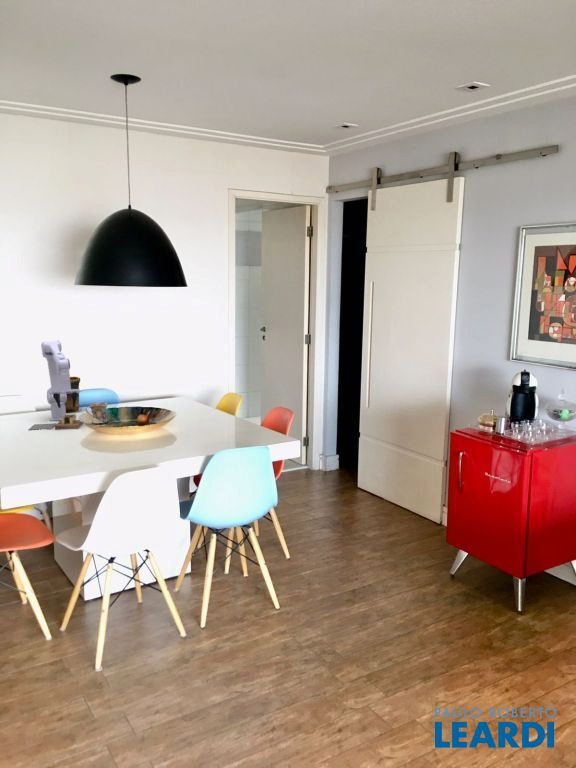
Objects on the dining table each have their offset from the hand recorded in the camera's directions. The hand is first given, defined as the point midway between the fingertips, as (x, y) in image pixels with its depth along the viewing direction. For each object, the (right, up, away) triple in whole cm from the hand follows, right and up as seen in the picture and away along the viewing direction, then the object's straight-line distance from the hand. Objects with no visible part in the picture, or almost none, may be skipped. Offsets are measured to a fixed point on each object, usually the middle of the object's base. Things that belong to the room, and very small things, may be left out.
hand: (66, 407), depth 355 cm
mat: (-14, -11, +2) cm, 18 cm away
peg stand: (0, -10, +3) cm, 11 cm away
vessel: (-12, -4, +41) cm, 43 cm away
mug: (+14, -9, +9) cm, 19 cm away
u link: (0, -9, +2) cm, 9 cm away
